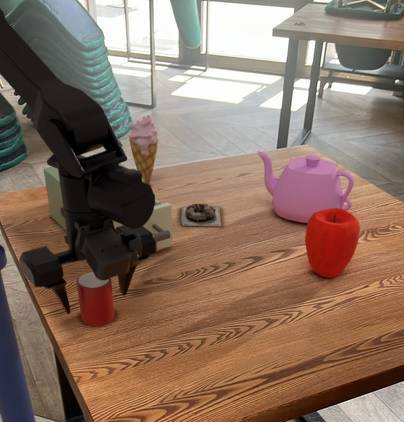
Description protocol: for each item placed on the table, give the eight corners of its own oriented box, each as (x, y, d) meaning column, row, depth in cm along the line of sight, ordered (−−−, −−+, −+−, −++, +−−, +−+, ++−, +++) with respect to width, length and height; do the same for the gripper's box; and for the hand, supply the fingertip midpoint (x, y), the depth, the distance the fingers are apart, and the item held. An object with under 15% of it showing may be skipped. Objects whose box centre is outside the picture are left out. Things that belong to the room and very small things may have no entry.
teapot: (352, 207, 120) (363, 150, 112) (344, 235, 110) (356, 174, 102) (259, 193, 124) (264, 138, 117) (243, 219, 114) (248, 160, 107)
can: (90, 329, 84) (85, 292, 80) (75, 313, 88) (70, 276, 83) (120, 319, 87) (117, 282, 83) (105, 303, 90) (101, 267, 86)
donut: (181, 207, 118) (181, 198, 116) (219, 208, 118) (219, 198, 117) (181, 226, 111) (181, 216, 110) (221, 226, 111) (221, 216, 110)
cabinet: (147, 228, 110) (145, 179, 104) (82, 246, 104) (76, 195, 98) (111, 201, 120) (108, 155, 113) (50, 216, 113) (43, 168, 107)
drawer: (186, 256, 100) (186, 214, 95) (124, 276, 95) (120, 233, 90) (135, 217, 112) (133, 178, 107) (76, 233, 106) (71, 193, 101)
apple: (306, 255, 103) (315, 198, 96) (355, 264, 101) (367, 207, 94) (294, 278, 97) (303, 219, 90) (345, 289, 95) (358, 229, 88)
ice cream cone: (163, 191, 124) (162, 119, 115) (136, 194, 122) (132, 122, 113) (154, 179, 129) (152, 109, 119) (127, 183, 127) (123, 112, 118)
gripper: (41, 247, 66) (59, 352, 76) (177, 210, 75) (177, 309, 85) (8, 212, 73) (28, 312, 83) (135, 182, 82) (140, 276, 92)
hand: (96, 303), depth 86 cm, fingers open, 9 cm apart
